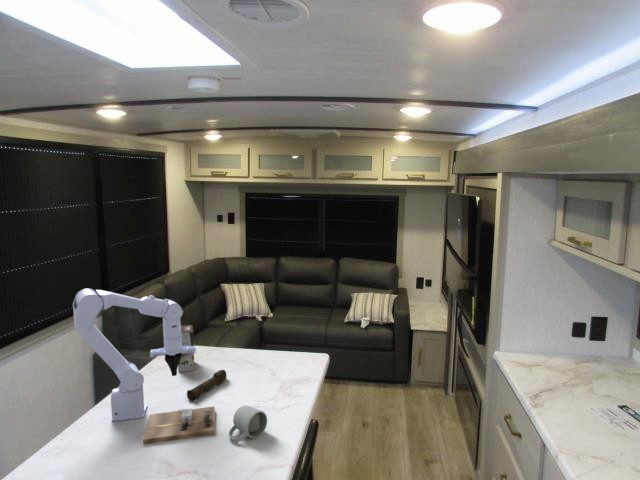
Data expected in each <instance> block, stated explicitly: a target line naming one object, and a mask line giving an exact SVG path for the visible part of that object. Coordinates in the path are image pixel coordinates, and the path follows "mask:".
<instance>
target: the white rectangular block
mask: <svg viewBox="0 0 640 480" xmlns="http://www.w3.org/2000/svg"><path fill="white" fill-rule="evenodd" d="M192 409H193V408H186V409H181V411H182V414H181V424H182V426H185V425H192V418H193V417H192Z"/></svg>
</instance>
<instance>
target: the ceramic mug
mask: <svg viewBox="0 0 640 480" xmlns="http://www.w3.org/2000/svg"><path fill="white" fill-rule="evenodd" d="M232 421H233V422H232V423H233V426H232V427H230V429H229V431H228V437H229V440H230V441H232V442H233V443H238V442H241V441H243V440H244V439H246V438H247V437H248V438H250V439H256V438H259V437H260V436H262V435H263V433H264V432H265V430H266V428H267V425H268V416H267V414H266V412H265V411H262V410H260V409H257V408H256V407H252V406H250V405H241V406H240V407H239V408H238V409H237V410H236V411H235V413H234V415H233V420H232ZM236 430H238V431H240V432H241V435H239V436H237V437H234V436H233V434H234V432H235V431H236Z"/></svg>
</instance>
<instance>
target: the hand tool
mask: <svg viewBox="0 0 640 480" xmlns="http://www.w3.org/2000/svg"><path fill="white" fill-rule="evenodd" d="M226 380H227V372H226V370H225V369H220V370H219V371H217V372H214V373H213V376H211V378H208V379H206V380H205V381H203V382H202V383H200V384H198V385H197V386H195V387H193V388H192V389H188V390H187V391H186V398H187V399H188V400H189V401H191V402H195V401H196V400H198V399H199V398H200V396H201V397H202V395H204V394H205V393H207V392H209V391H210V390H212V389H213V388H215V387H219V386H221V385H222V384H224V382H225V381H226Z"/></svg>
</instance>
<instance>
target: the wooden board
mask: <svg viewBox="0 0 640 480" xmlns="http://www.w3.org/2000/svg"><path fill="white" fill-rule="evenodd" d="M191 409H192V417H193V418H192V425H185V426H182V424H181V414H182V410H175V411H174V410H173V411H169V412H167V411H166V412H160V413H150V414H149V415H148V419H147V423H146V427H145V431H144V434H143V438H142V444H143V446H144V445H151V444H156V443H164V442H172V441H180V440H186V439H187V440H188V439H195V438H201V437H207V436H215V435H216V424H215V423H216V421H215V420H216V416H215V415H216V413H215V406H209V407H202V408H201V407H200V408H199V407H198V408H191Z"/></svg>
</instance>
